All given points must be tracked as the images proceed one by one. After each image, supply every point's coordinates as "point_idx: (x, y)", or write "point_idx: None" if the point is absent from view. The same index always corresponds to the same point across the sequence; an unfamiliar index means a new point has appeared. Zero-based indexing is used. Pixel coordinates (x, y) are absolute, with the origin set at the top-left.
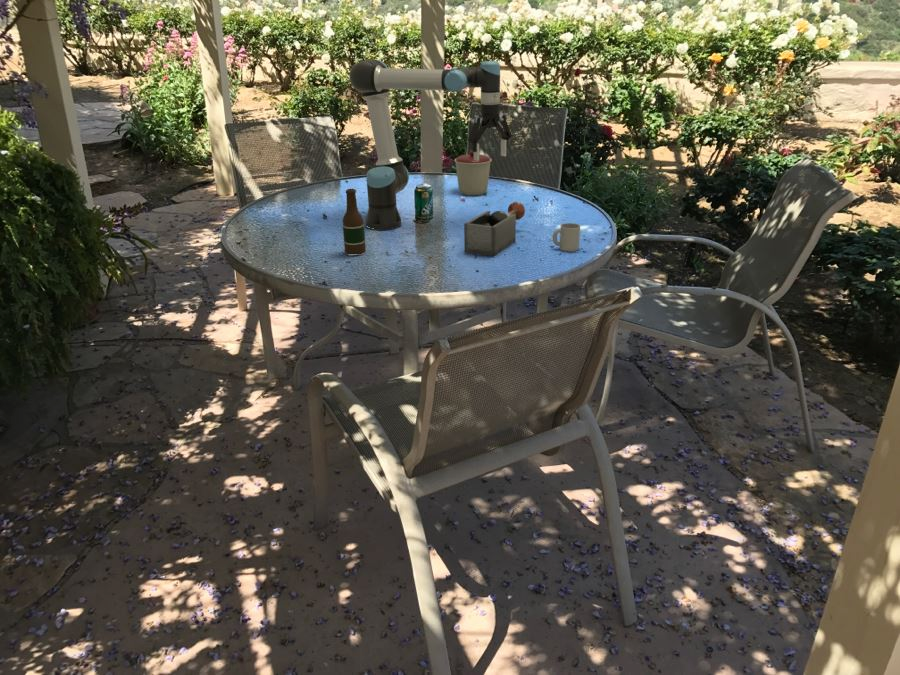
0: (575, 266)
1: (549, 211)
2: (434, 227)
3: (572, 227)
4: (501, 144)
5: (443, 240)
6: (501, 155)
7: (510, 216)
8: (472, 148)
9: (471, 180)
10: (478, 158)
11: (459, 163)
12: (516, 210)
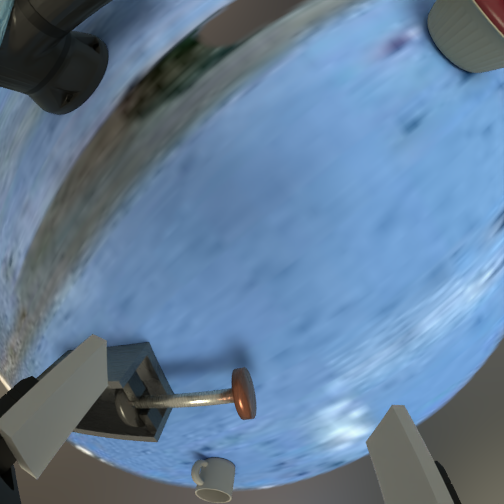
0: (165, 480)
1: (444, 315)
2: (119, 168)
3: (229, 489)
4: (420, 481)
5: (72, 270)
6: (387, 413)
7: (134, 438)
8: (11, 393)
9: (456, 33)
10: (95, 392)
11: None
12: (233, 402)
